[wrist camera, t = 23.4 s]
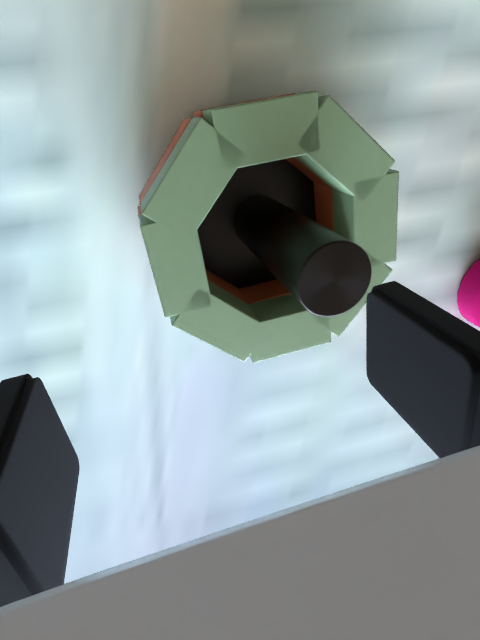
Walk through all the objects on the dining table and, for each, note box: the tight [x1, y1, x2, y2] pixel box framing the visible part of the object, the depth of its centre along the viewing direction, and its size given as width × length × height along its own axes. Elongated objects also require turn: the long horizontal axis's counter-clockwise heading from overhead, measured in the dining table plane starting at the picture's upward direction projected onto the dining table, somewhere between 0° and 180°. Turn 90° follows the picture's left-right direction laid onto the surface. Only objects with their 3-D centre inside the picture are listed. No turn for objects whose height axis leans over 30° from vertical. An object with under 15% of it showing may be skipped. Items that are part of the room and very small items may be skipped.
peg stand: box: [197, 159, 372, 317], centre depth 20 cm, size 8×8×11 cm
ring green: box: [139, 91, 399, 363], centre depth 20 cm, size 12×12×2 cm
